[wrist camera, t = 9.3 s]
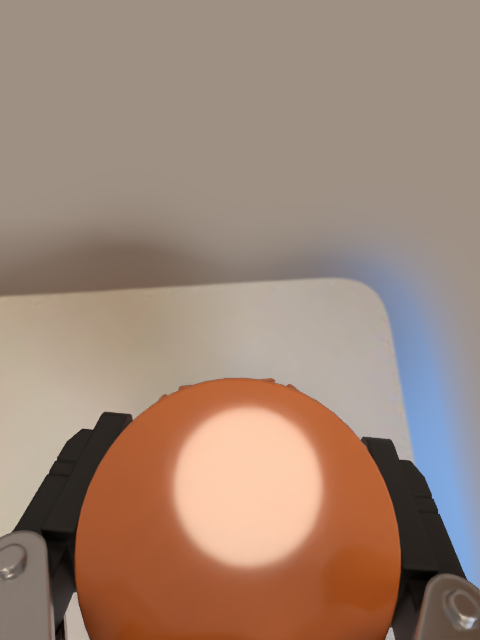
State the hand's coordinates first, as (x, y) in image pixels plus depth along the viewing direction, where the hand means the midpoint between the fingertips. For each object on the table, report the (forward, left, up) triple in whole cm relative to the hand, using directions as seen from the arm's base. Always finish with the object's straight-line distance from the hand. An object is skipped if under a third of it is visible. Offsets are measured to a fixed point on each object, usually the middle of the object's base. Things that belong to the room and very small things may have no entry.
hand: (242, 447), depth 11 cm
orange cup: (-1, +1, -4) cm, 5 cm away
